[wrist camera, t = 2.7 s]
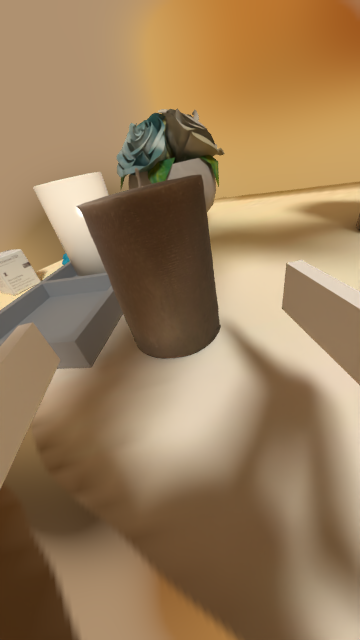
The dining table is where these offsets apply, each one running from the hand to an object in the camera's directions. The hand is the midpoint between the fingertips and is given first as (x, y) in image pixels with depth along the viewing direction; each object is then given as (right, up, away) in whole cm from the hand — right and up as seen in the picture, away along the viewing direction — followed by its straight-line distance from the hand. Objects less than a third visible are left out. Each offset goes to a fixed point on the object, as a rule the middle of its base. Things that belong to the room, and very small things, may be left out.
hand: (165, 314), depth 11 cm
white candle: (-13, +9, +29) cm, 33 cm away
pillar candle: (0, -1, +13) cm, 13 cm away
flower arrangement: (+1, +24, +48) cm, 54 cm away
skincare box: (-33, +7, +35) cm, 49 cm away
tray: (-14, +4, +24) cm, 28 cm away
